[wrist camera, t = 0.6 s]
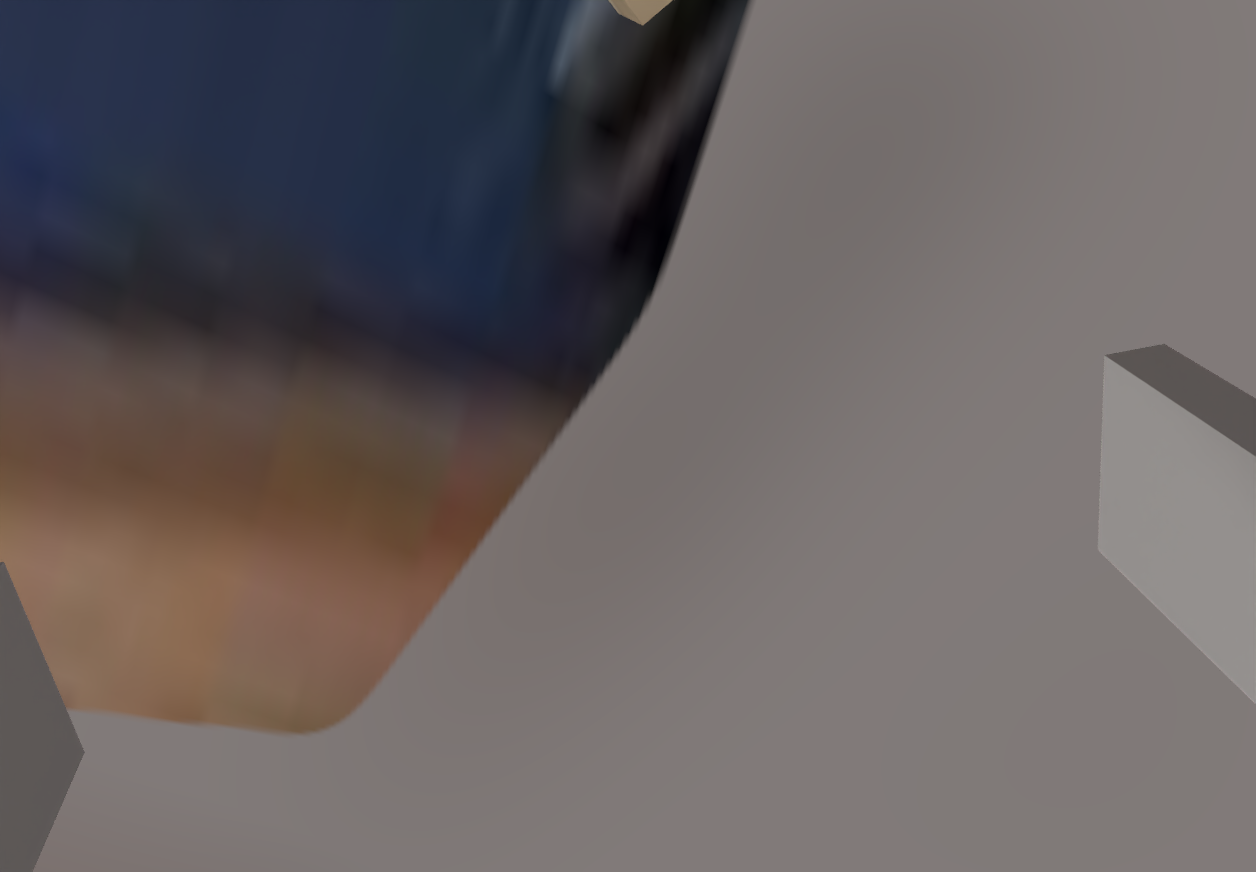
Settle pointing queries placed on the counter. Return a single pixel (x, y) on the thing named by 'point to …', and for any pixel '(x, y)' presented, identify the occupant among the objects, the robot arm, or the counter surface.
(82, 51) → the counter surface
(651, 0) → the wooden tray
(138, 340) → the counter surface
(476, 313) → the counter surface
